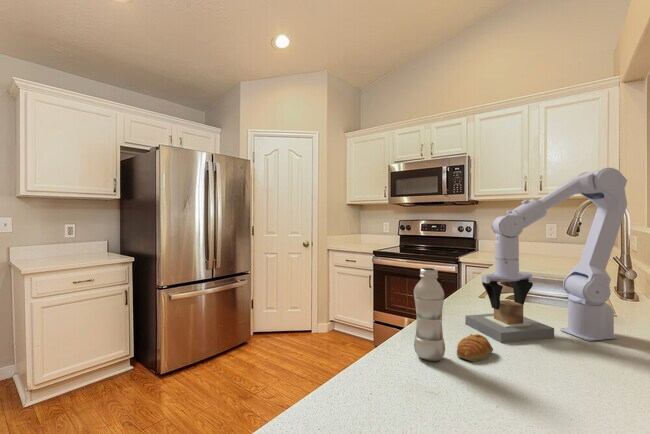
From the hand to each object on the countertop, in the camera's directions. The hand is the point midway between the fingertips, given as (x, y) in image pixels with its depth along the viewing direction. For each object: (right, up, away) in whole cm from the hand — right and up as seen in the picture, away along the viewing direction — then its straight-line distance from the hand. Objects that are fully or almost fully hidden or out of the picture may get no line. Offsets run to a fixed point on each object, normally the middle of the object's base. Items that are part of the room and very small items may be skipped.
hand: (507, 307), depth 86 cm
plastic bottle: (-27, -7, -17) cm, 33 cm away
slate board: (0, -6, 0) cm, 6 cm away
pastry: (-16, -7, -14) cm, 23 cm away
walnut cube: (0, -4, 0) cm, 4 cm away
